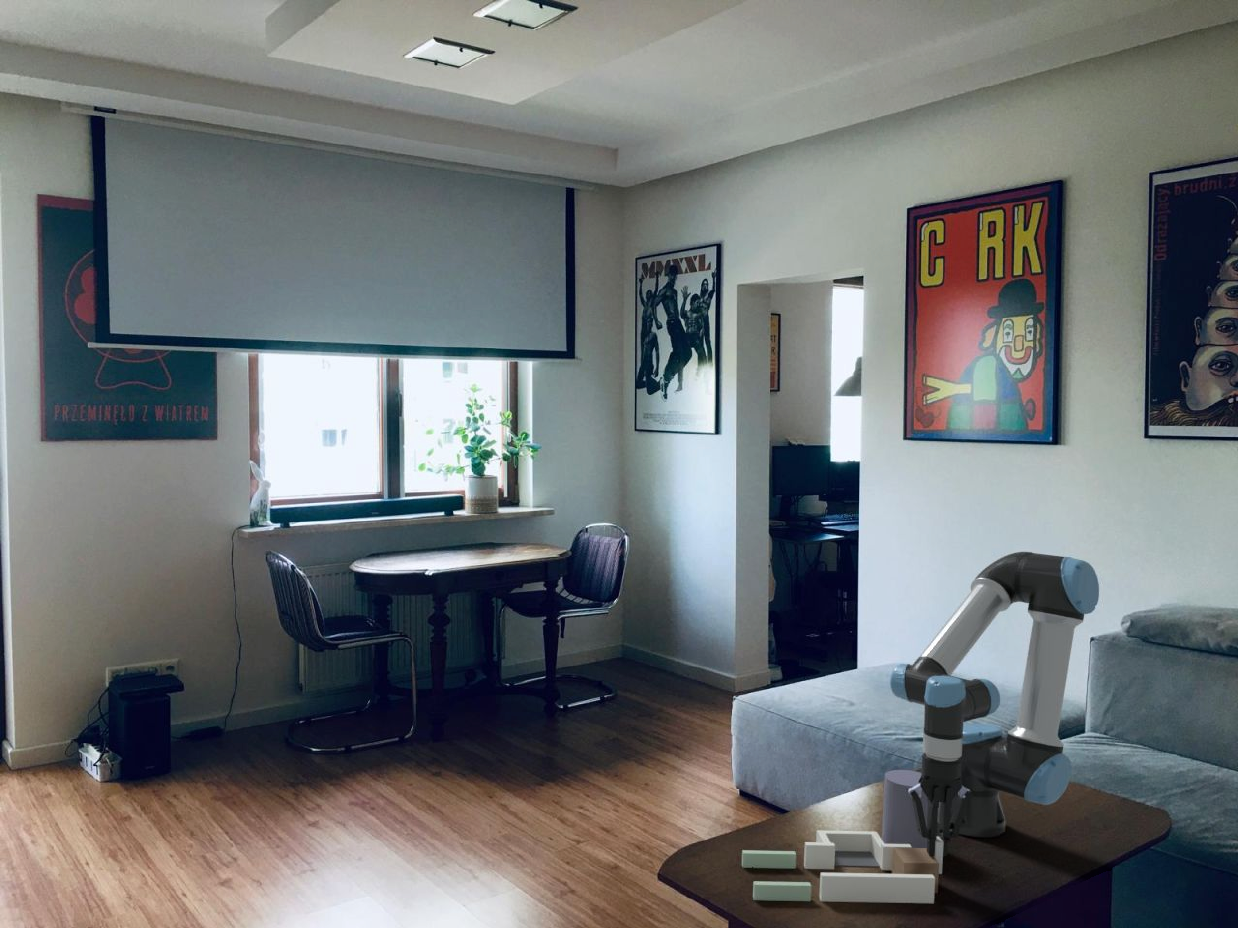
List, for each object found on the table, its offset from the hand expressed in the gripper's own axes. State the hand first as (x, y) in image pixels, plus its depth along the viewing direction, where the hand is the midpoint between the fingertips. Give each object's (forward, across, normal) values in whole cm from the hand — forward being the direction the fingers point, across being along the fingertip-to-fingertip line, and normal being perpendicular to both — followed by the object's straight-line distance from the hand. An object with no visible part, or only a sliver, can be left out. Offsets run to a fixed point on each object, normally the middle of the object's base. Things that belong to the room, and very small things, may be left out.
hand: (935, 870), depth 205 cm
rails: (+3, +32, 0) cm, 33 cm away
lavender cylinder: (+3, 0, -19) cm, 19 cm away
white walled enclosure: (+3, +14, -4) cm, 15 cm away
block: (+3, +4, 0) cm, 5 cm away
